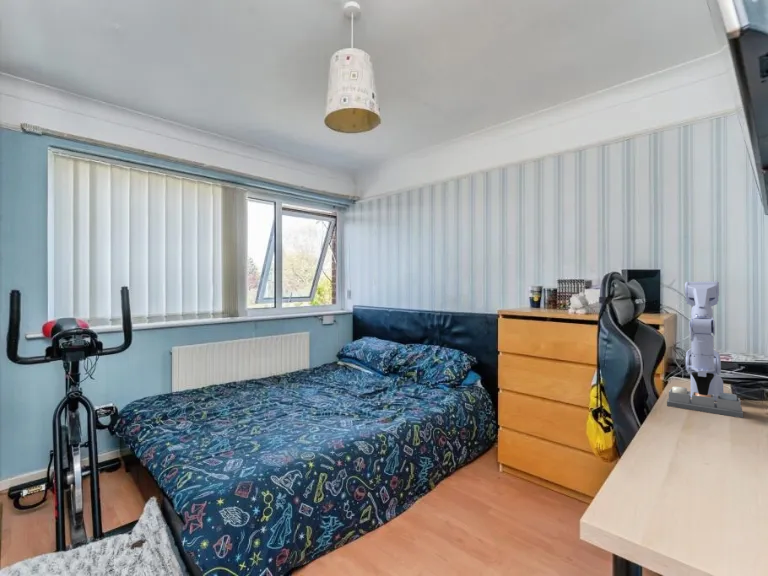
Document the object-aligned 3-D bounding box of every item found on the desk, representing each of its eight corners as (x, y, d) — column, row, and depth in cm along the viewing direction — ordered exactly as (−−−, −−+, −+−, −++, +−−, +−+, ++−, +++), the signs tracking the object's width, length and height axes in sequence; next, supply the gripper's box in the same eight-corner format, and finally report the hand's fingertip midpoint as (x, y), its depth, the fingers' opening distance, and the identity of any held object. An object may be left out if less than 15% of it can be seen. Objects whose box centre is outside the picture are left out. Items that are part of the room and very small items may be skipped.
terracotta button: (695, 403, 124) (695, 394, 124) (695, 400, 127) (695, 392, 127) (711, 405, 121) (711, 396, 121) (711, 403, 124) (711, 394, 124)
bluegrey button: (720, 403, 120) (719, 394, 120) (720, 401, 123) (719, 392, 123) (737, 406, 117) (736, 396, 117) (736, 403, 120) (736, 394, 120)
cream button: (671, 396, 128) (671, 388, 128) (672, 394, 131) (672, 385, 131) (686, 398, 125) (686, 390, 125) (687, 396, 128) (687, 387, 128)
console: (667, 405, 127) (666, 392, 127) (669, 400, 134) (669, 387, 134) (743, 418, 114) (742, 403, 114) (741, 411, 121) (741, 397, 121)
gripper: (688, 350, 132) (688, 388, 132) (685, 355, 122) (686, 396, 121) (714, 352, 128) (715, 391, 127) (714, 358, 117) (715, 401, 117)
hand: (703, 394), depth 124 cm, fingers closed, pressing on terracotta button
